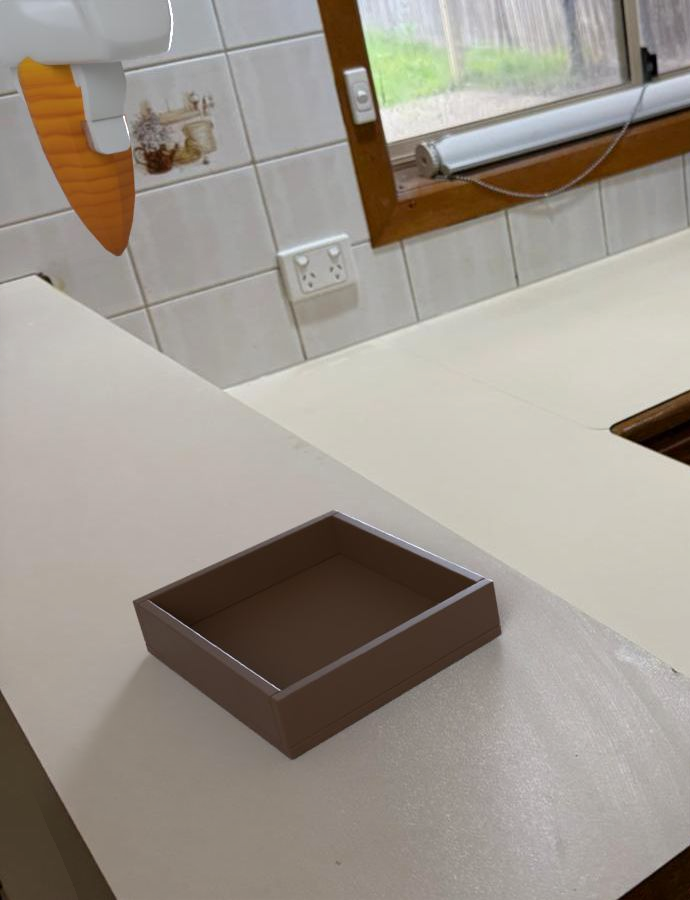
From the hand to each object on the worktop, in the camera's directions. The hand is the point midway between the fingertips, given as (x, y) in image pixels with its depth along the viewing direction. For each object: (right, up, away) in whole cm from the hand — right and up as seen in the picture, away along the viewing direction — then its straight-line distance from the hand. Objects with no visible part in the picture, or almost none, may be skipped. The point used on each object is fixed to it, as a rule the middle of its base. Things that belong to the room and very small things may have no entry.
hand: (88, 150), depth 63 cm
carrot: (+1, -6, +3) cm, 6 cm away
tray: (+14, -26, -5) cm, 30 cm away
